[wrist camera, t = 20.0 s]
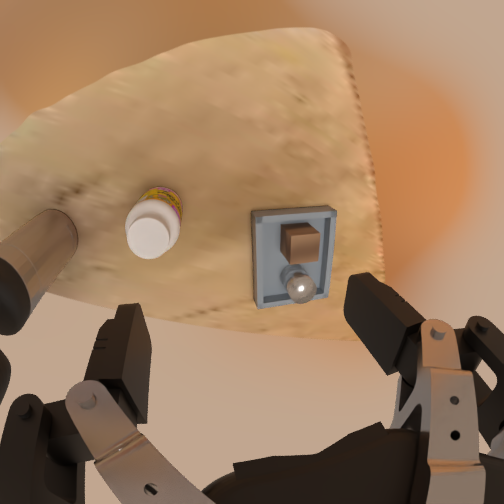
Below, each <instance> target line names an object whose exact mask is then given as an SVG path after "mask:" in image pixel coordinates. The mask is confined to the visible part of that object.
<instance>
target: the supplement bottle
mask: <svg viewBox="0 0 504 504" xmlns="http://www.w3.org/2000/svg"><path fill="white" fill-rule="evenodd" d="M181 217H182V203H181V200H180V198H179V196H178V195H177V194H176V193H175V192H174V191H172V190H171V189H169V188H165V187H155V188H152V189H150V190H148V191H147V192H146V193H144V194H143V195H142V197H141V198H140V199H139V200H138V202H137V203H136V204H135V206H134V207H133V208H132V209H131V211H130V212H129V214H128V216H127V219H126V223H125V231H126V235H127V242H128V245H129V247H130V249H131V250H132V252H133V253H134V254H136V255H137V256H139V257H141V258H144V259H154V258H157V257H159V256H161V255H162V254H163V253H164V252H166V251H168V250H169V249H170V248H171V247H172V246H173V245H174V244H175V242H176V241H177V239H178V236H179V232H180V225H181Z"/></svg>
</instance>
